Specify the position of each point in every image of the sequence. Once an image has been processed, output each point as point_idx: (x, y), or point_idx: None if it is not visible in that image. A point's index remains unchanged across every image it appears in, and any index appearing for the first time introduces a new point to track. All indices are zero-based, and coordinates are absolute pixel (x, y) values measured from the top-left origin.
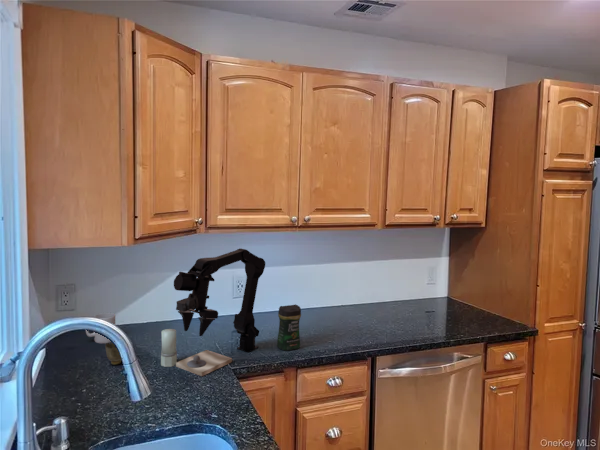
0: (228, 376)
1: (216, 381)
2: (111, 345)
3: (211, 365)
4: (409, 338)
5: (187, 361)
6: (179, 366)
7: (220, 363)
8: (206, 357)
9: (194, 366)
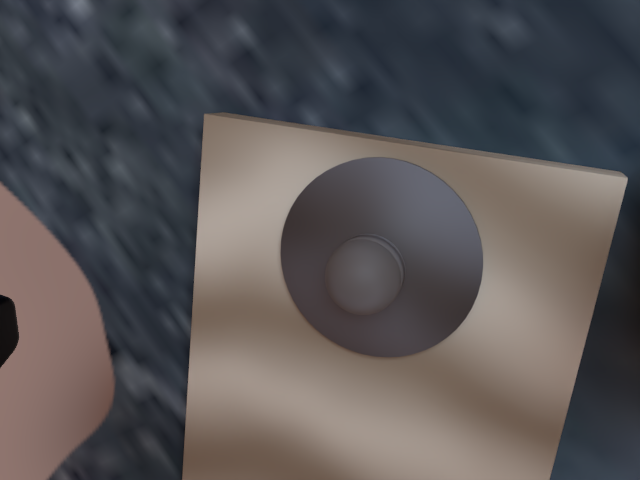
0: (59, 222)
1: (71, 98)
2: None
3: (230, 288)
4: None
5: (513, 268)
6: (555, 163)
7: (192, 359)
8: (390, 433)
9: (340, 178)
